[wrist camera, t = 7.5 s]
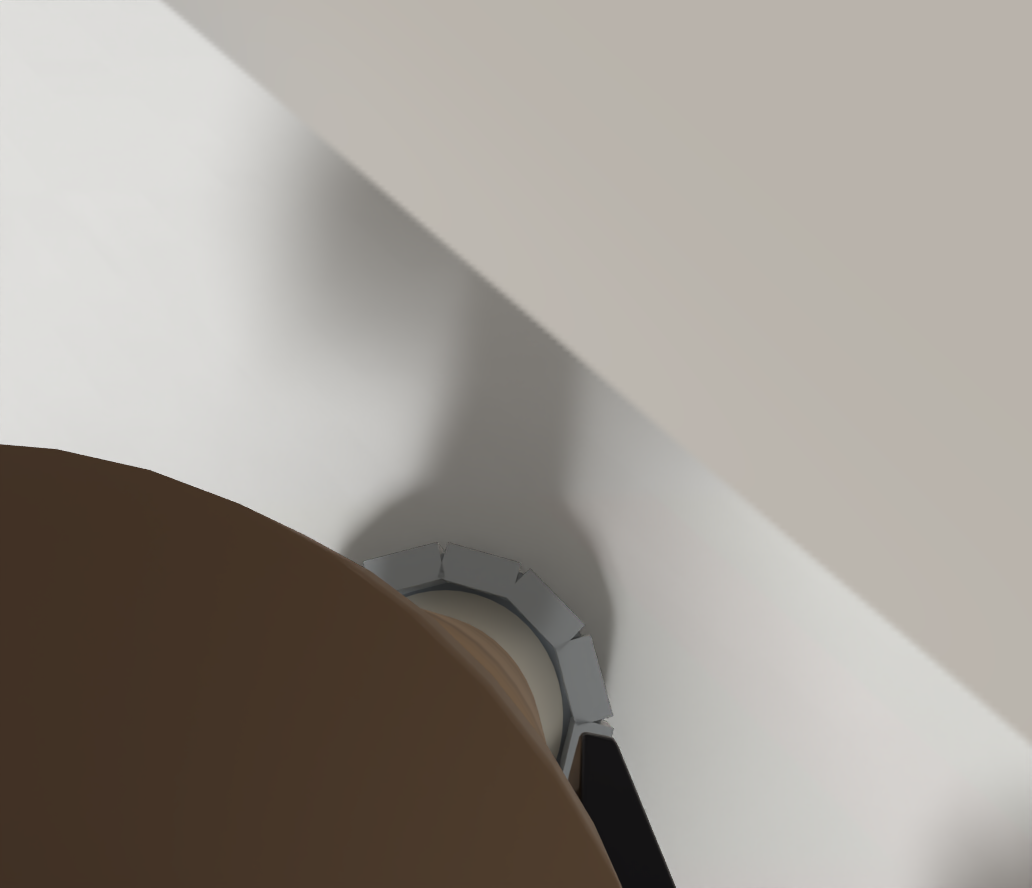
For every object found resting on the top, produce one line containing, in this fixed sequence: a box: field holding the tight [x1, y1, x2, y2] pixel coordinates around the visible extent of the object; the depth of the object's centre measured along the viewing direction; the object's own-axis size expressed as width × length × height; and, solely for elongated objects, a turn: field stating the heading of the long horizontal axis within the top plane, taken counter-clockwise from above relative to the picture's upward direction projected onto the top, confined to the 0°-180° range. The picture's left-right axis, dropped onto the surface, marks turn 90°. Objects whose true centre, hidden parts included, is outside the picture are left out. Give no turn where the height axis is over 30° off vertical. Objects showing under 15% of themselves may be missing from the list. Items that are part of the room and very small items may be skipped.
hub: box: [363, 542, 614, 779], centre depth 19 cm, size 9×9×2 cm
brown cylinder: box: [0, 444, 622, 888], centre depth 8 cm, size 6×6×13 cm
